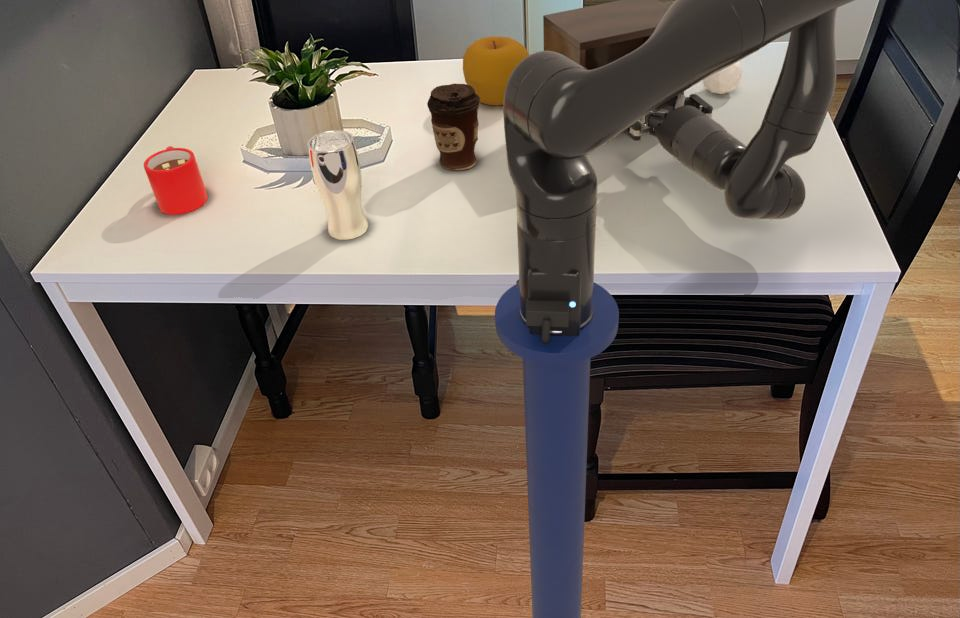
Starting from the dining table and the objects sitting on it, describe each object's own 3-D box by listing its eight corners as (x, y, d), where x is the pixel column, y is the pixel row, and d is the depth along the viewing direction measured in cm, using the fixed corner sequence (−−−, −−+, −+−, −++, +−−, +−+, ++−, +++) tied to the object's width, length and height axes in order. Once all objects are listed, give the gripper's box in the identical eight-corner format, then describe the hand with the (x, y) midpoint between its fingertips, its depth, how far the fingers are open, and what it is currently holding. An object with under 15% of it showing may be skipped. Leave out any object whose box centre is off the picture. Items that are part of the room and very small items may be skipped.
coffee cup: (464, 180, 130) (457, 106, 122) (423, 168, 134) (414, 96, 126) (492, 156, 136) (488, 85, 127) (452, 146, 139) (446, 76, 131)
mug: (202, 174, 137) (189, 132, 132) (210, 207, 128) (196, 164, 123) (156, 184, 135) (140, 143, 130) (160, 219, 127) (144, 176, 122)
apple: (479, 82, 160) (475, 25, 152) (539, 88, 156) (539, 30, 148) (454, 109, 151) (449, 51, 143) (518, 117, 147) (516, 57, 139)
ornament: (691, 86, 152) (711, 46, 150) (727, 102, 151) (747, 62, 150) (696, 82, 145) (717, 40, 143) (733, 99, 145) (754, 57, 143)
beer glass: (358, 245, 117) (340, 155, 108) (317, 238, 120) (296, 149, 110) (378, 220, 122) (363, 132, 113) (339, 213, 124) (320, 126, 115)
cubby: (680, 128, 139) (692, 19, 127) (577, 153, 135) (580, 42, 122) (640, 97, 150) (648, -6, 137) (544, 120, 145) (543, 15, 133)
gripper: (740, 107, 116) (681, 68, 128) (655, 127, 113) (602, 85, 125) (733, 152, 121) (676, 110, 133) (651, 173, 118) (601, 129, 130)
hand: (641, 98), depth 129 cm, fingers open, 8 cm apart
